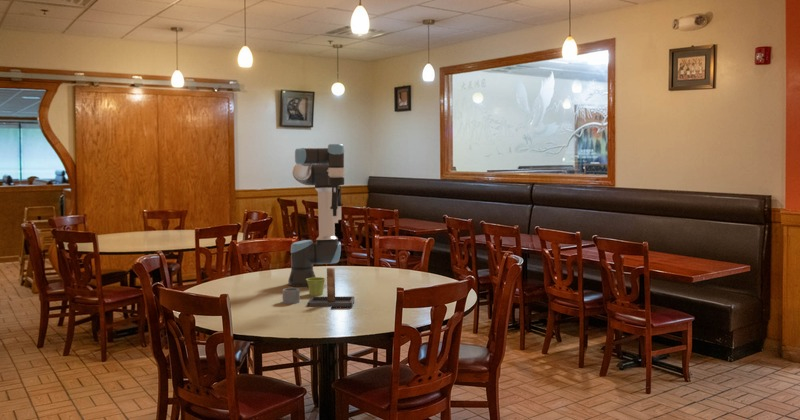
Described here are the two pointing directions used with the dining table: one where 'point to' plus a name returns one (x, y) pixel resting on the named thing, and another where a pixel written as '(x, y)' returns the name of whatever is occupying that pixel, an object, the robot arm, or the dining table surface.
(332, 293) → the dowel
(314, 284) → the plant pot
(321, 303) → the tray
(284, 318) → the dining table surface
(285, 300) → the cup
